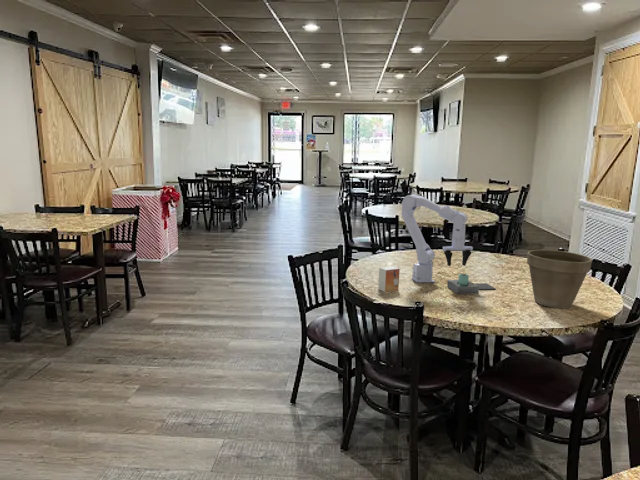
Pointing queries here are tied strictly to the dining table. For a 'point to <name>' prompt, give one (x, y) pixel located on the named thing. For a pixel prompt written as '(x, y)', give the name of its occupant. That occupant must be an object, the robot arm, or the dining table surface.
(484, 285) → the mat
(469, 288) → the housing
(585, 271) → the plant pot
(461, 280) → the teal and grey cylinder
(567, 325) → the dining table surface
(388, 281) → the small box
